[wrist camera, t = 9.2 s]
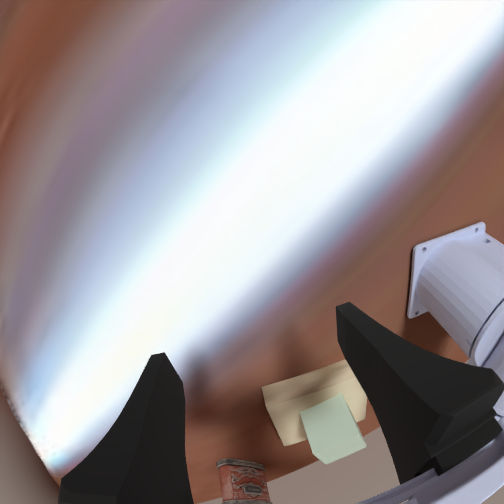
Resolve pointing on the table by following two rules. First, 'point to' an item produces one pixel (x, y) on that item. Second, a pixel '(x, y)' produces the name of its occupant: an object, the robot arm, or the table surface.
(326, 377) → the maple block
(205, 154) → the table surface
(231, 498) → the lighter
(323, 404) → the sage block
